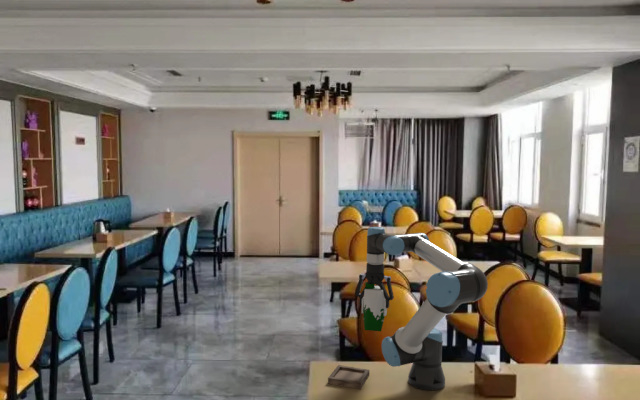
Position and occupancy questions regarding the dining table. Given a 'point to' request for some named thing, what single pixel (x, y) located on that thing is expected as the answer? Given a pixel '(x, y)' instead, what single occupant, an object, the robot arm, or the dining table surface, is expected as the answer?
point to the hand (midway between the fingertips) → (374, 313)
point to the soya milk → (373, 307)
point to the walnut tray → (348, 377)
